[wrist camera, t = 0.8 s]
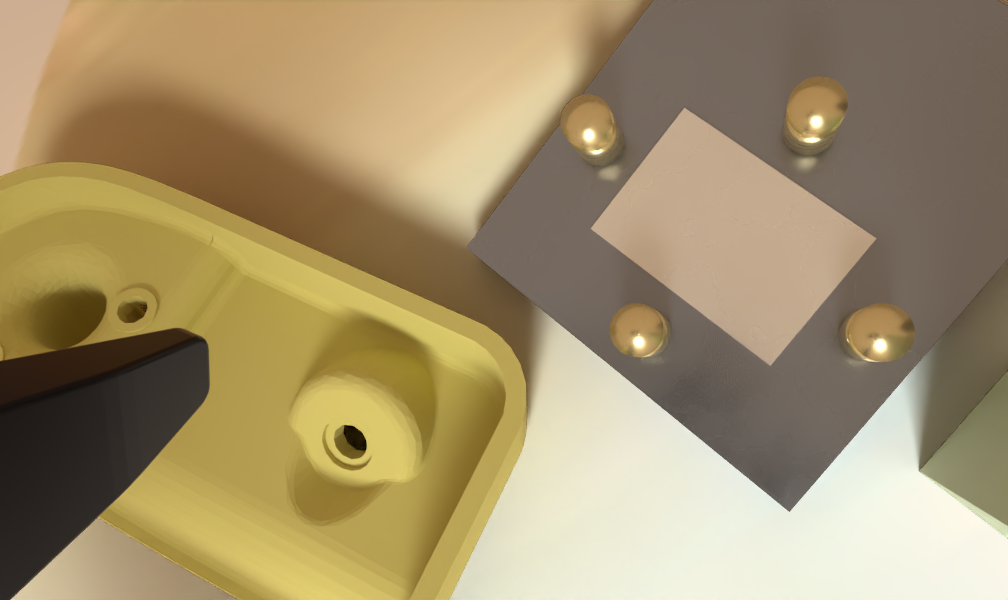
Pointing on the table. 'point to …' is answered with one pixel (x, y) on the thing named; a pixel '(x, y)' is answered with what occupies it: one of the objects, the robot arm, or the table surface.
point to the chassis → (771, 212)
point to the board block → (978, 459)
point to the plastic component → (272, 390)
